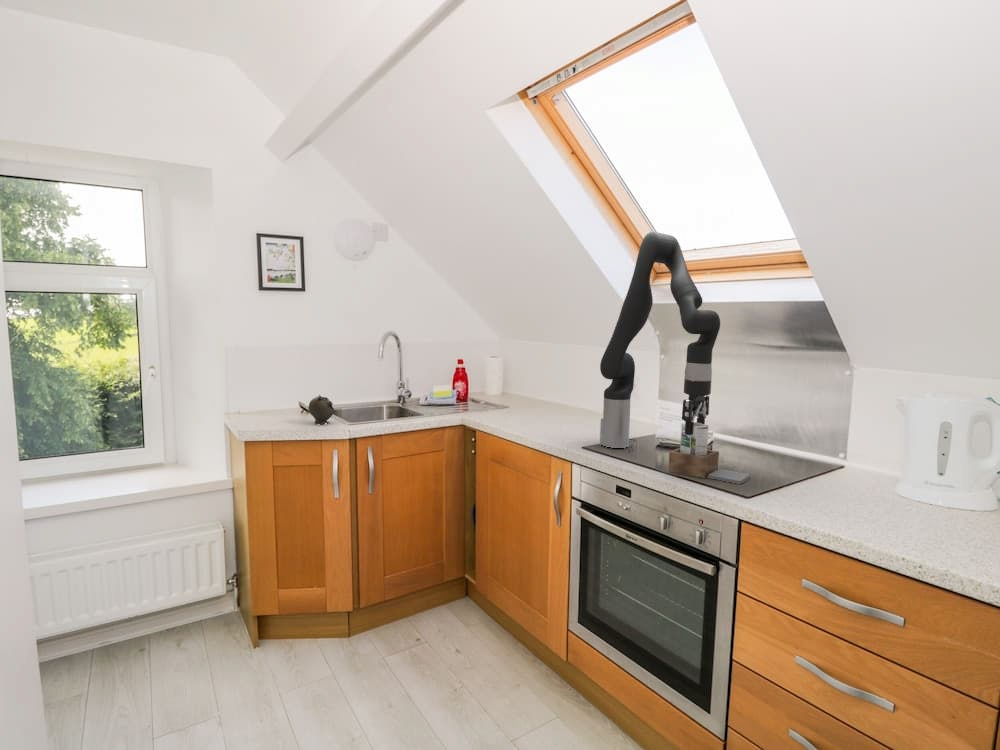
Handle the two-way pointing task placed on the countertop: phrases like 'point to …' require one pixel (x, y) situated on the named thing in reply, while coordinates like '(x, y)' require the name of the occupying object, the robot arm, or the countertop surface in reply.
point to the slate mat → (729, 476)
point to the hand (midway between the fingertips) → (694, 432)
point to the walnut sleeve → (693, 463)
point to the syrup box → (694, 440)
